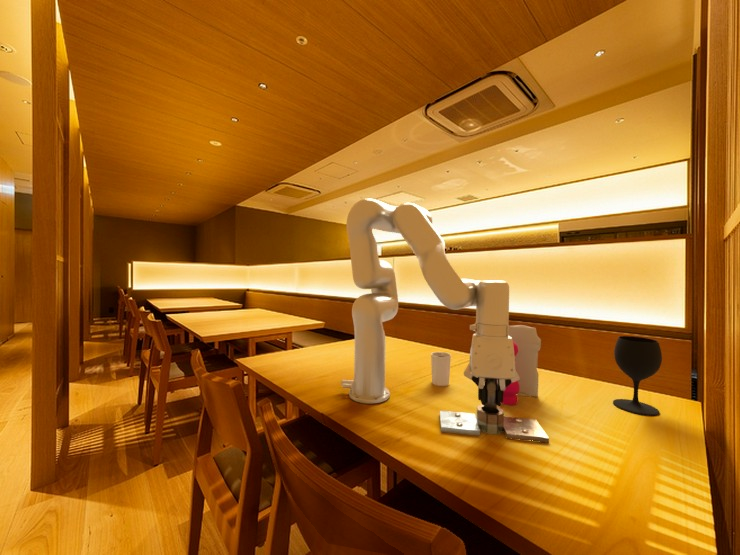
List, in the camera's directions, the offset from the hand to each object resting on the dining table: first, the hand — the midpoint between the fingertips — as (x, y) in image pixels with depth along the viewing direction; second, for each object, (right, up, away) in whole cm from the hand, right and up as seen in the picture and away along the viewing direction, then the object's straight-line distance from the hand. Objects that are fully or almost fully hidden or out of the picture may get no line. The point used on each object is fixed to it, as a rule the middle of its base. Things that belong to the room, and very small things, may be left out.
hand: (490, 402), depth 77 cm
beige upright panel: (+18, -6, +22) cm, 29 cm away
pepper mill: (+11, -6, +16) cm, 21 cm away
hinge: (0, -6, 0) cm, 6 cm away
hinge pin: (0, -3, 0) cm, 3 cm away
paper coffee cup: (-6, -6, +31) cm, 32 cm away
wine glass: (+47, -7, +13) cm, 49 cm away
